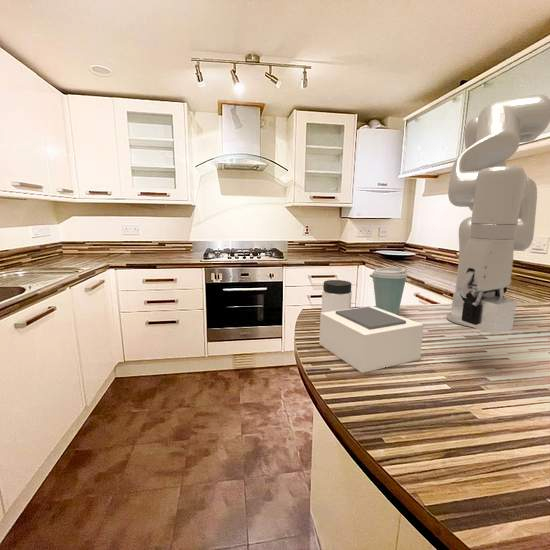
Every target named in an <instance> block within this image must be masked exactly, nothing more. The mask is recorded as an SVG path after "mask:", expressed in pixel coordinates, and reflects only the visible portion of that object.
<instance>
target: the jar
mask: <svg viewBox="0 0 550 550" xmlns="http://www.w3.org/2000/svg"><path fill="white" fill-rule="evenodd" d="M322 286H323V287H322V288H323V289H322V291H321V292H322V293H321V313H323V312H330V311H338V310H345V309H352V295H353V293H352V291H353V290H352V286H353V285H352V282H351V281H348V280H341V279H329V280H324V282H323V285H322Z"/></svg>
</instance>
